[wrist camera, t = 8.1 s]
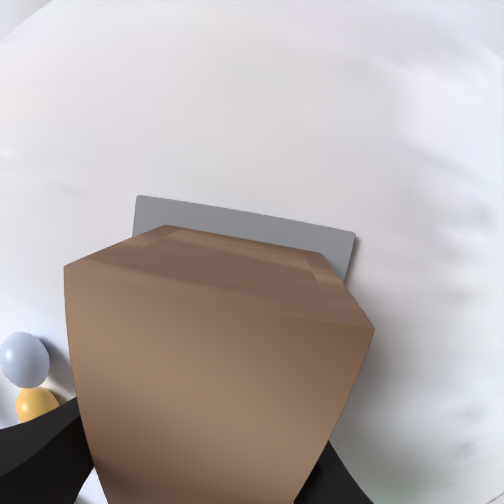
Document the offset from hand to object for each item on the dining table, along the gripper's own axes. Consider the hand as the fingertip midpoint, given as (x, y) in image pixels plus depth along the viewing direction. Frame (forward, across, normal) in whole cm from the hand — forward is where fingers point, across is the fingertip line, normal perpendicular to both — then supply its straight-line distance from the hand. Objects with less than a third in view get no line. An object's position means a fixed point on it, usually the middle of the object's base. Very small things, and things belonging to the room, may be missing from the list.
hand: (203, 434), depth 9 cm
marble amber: (+3, +10, +5) cm, 12 cm away
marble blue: (+3, +10, +1) cm, 11 cm away
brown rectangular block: (+3, 0, 0) cm, 3 cm away
